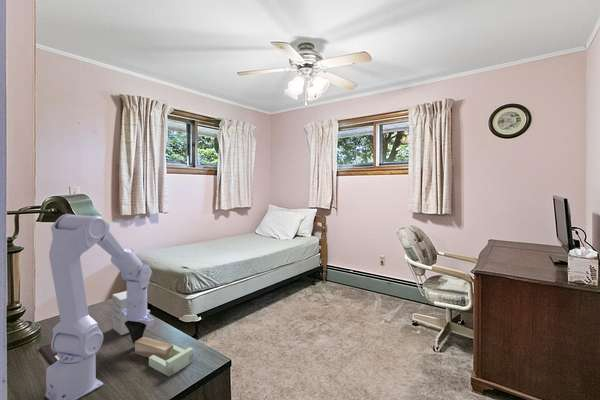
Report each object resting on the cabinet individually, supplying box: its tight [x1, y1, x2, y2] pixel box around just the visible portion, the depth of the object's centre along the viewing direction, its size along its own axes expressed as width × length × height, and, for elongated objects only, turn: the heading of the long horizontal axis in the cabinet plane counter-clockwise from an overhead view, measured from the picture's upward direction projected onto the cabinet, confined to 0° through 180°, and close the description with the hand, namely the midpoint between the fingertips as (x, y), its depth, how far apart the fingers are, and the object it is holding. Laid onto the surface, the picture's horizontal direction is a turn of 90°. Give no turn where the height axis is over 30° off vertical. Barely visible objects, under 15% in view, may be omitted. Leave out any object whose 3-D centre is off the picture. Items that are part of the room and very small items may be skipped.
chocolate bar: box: [39, 343, 97, 365], centre depth 90 cm, size 9×1×18 cm
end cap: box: [148, 344, 194, 377], centre depth 86 cm, size 8×9×4 cm
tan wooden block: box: [134, 336, 174, 361], centre depth 90 cm, size 3×12×4 cm, turn 70°
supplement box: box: [112, 290, 130, 336], centre depth 105 cm, size 7×7×13 cm
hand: (137, 342), depth 94 cm, fingers closed
